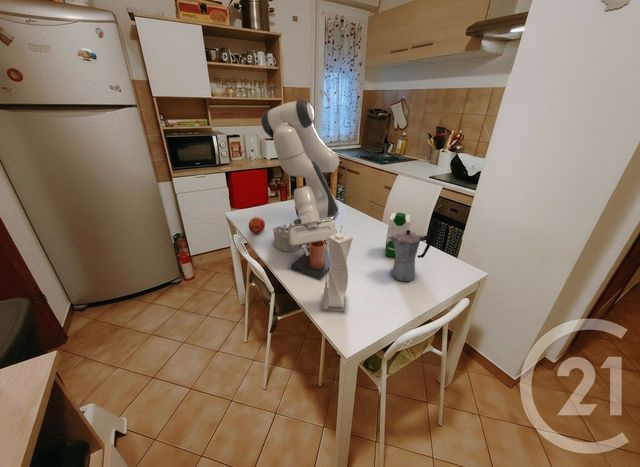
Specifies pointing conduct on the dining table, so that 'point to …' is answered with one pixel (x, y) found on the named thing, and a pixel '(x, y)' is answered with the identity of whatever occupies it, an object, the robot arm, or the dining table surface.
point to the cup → (317, 254)
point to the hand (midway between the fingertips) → (317, 254)
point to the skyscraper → (337, 272)
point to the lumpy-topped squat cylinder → (283, 238)
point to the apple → (256, 225)
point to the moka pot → (407, 254)
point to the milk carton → (396, 230)
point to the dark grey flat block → (305, 268)
